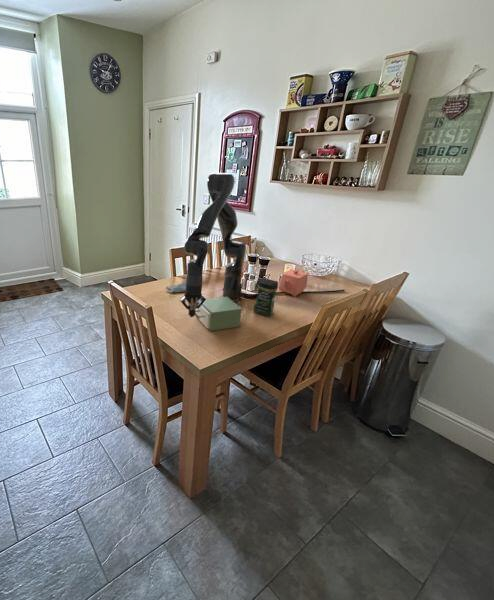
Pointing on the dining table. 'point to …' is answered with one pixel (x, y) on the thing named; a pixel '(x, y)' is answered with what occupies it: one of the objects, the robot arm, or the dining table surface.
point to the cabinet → (223, 313)
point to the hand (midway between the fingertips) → (191, 316)
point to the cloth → (177, 288)
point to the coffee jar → (265, 296)
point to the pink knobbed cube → (293, 282)
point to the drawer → (203, 316)
